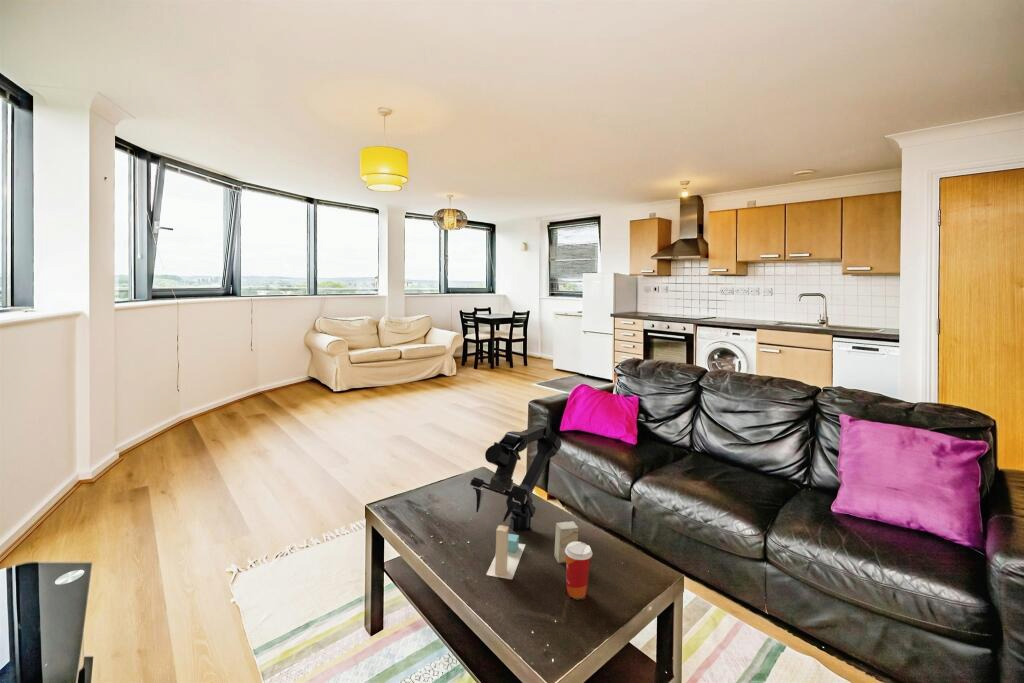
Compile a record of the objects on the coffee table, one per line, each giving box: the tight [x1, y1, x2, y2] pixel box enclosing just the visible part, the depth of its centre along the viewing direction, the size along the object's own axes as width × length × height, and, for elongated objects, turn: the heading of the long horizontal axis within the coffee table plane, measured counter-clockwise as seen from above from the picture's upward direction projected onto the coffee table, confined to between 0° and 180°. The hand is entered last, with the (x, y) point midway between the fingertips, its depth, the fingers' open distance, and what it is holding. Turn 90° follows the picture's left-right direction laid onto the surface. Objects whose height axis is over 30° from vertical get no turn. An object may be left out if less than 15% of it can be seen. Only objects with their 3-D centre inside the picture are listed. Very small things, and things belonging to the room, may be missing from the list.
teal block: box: [508, 533, 520, 553], centre depth 153 cm, size 4×4×4 cm
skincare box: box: [553, 520, 579, 564], centre depth 149 cm, size 6×4×12 cm
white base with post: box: [485, 524, 526, 580], centre depth 147 cm, size 20×8×15 cm, turn 167°
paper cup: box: [565, 541, 593, 598], centre depth 133 cm, size 8×8×14 cm
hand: (490, 516), depth 151 cm, fingers open, 9 cm apart
